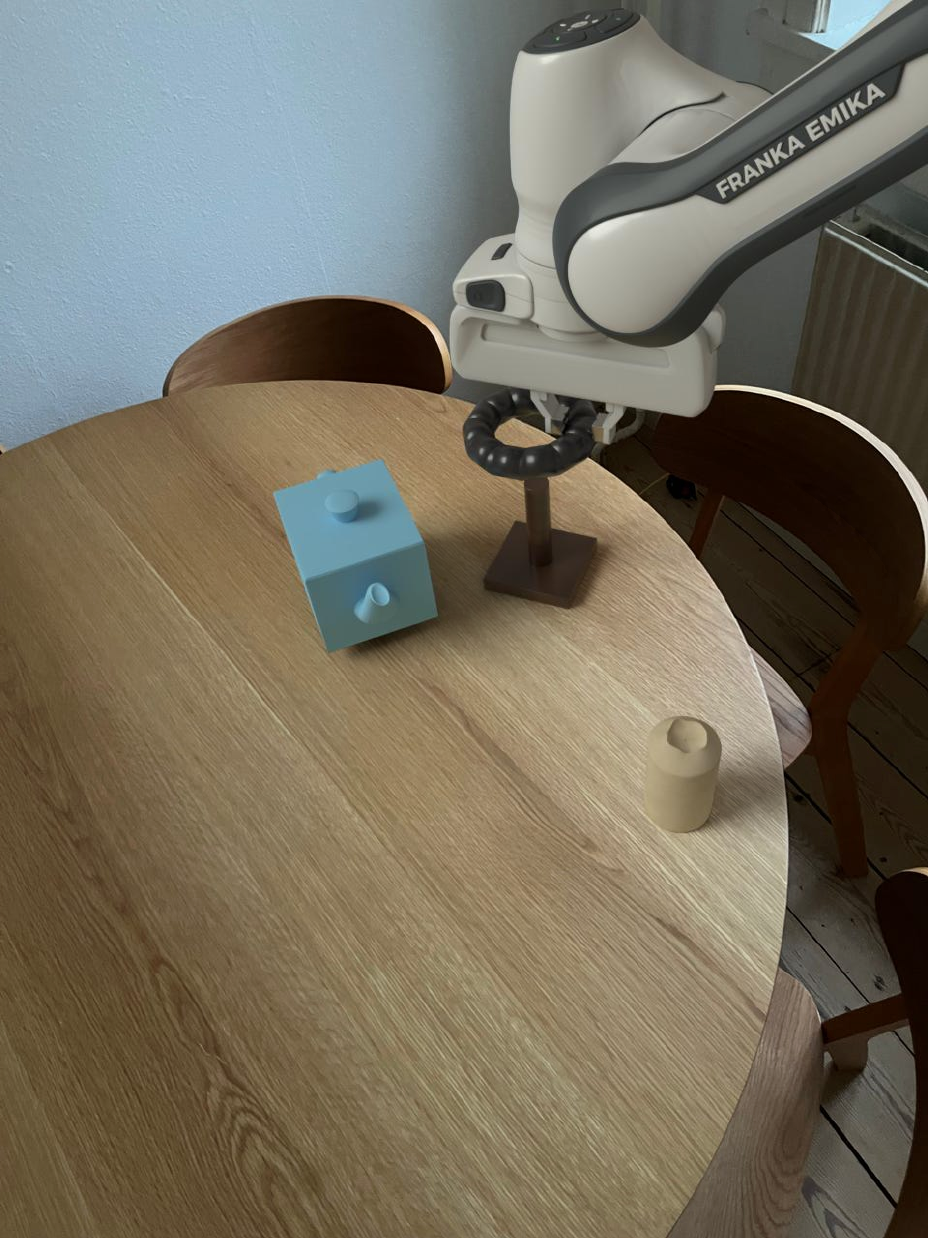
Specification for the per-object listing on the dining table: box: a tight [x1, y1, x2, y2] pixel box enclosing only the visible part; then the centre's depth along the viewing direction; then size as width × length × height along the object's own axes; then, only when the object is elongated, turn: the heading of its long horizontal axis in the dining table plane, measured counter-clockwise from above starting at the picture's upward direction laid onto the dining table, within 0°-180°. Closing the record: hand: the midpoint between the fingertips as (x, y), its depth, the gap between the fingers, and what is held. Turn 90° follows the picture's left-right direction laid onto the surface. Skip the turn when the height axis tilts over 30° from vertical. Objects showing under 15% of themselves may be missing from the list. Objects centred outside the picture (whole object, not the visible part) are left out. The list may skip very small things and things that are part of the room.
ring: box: [461, 386, 598, 482], centre depth 80 cm, size 11×11×3 cm
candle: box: [643, 715, 723, 834], centre depth 76 cm, size 6×6×10 cm
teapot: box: [272, 458, 439, 654], centre depth 92 cm, size 22×11×14 cm, turn 20°
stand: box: [482, 477, 598, 610], centre depth 94 cm, size 9×9×12 cm
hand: (580, 434), depth 78 cm, fingers closed on ring, 2 cm apart
